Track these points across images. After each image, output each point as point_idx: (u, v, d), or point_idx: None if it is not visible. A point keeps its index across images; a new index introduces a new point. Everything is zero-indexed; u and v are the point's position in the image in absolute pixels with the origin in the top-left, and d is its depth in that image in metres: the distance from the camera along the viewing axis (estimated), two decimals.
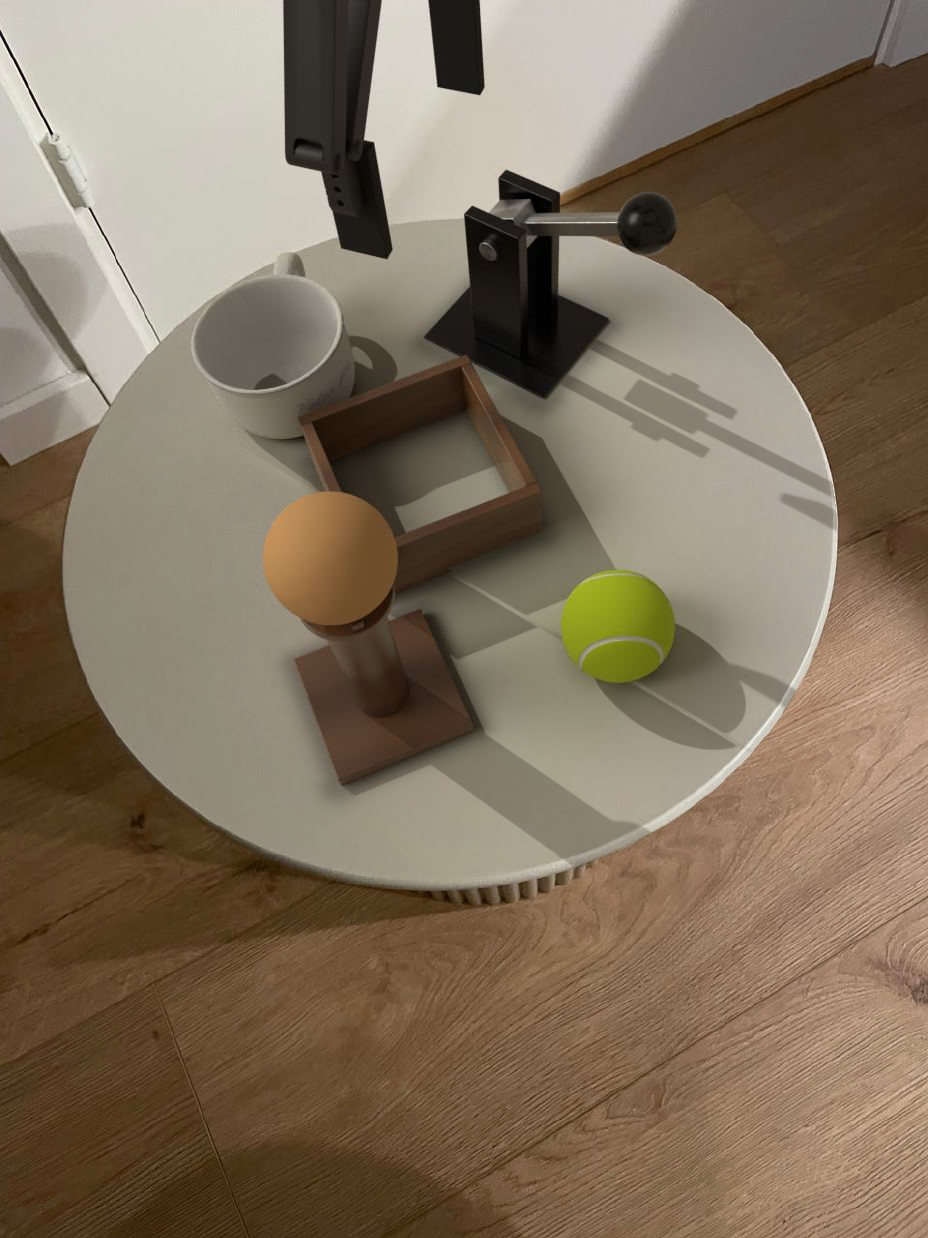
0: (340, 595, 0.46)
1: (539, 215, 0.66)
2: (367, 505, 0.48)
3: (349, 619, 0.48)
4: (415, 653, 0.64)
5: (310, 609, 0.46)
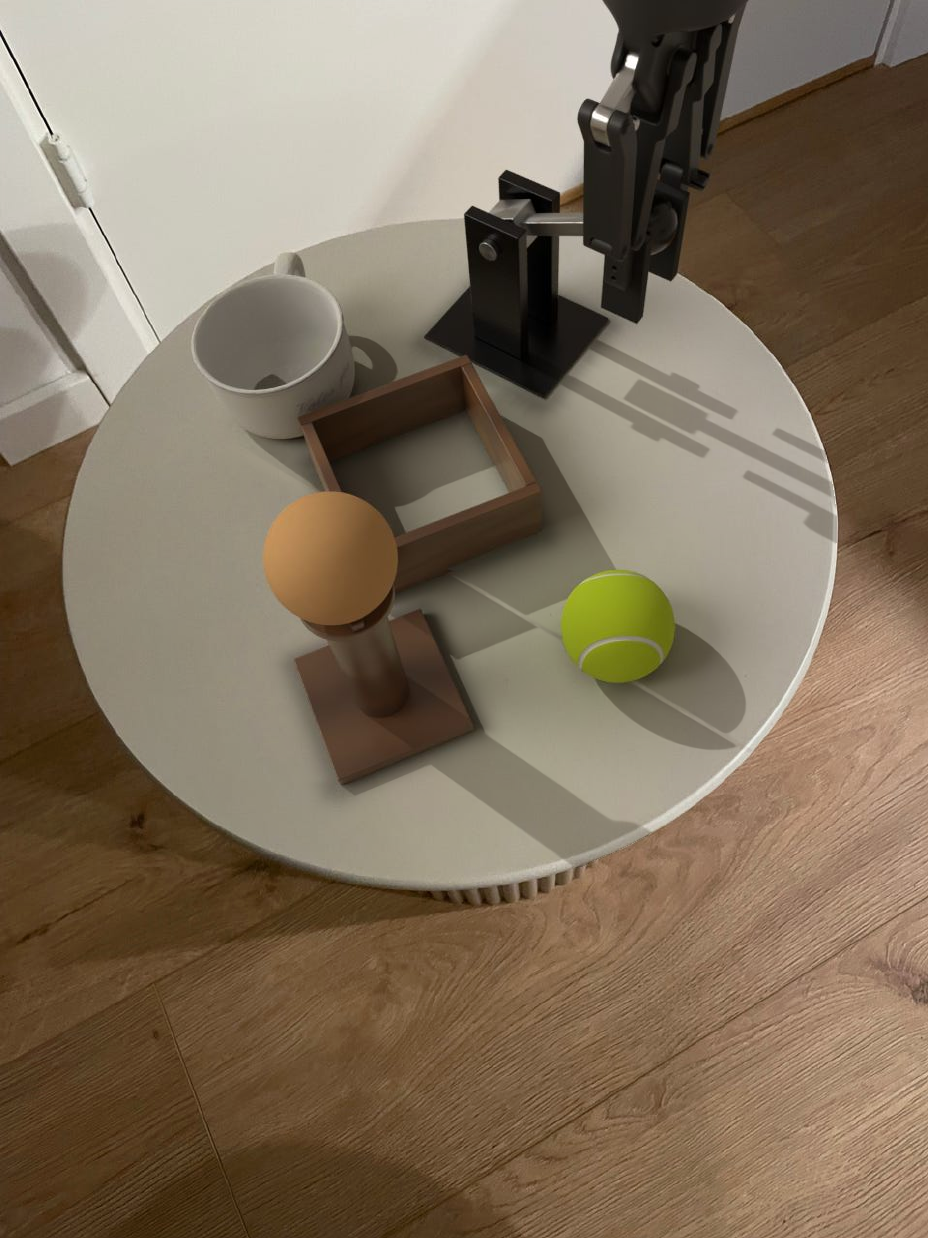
0: (340, 595, 0.46)
1: (539, 215, 0.66)
2: (367, 505, 0.48)
3: (349, 619, 0.48)
4: (415, 653, 0.64)
5: (310, 609, 0.46)
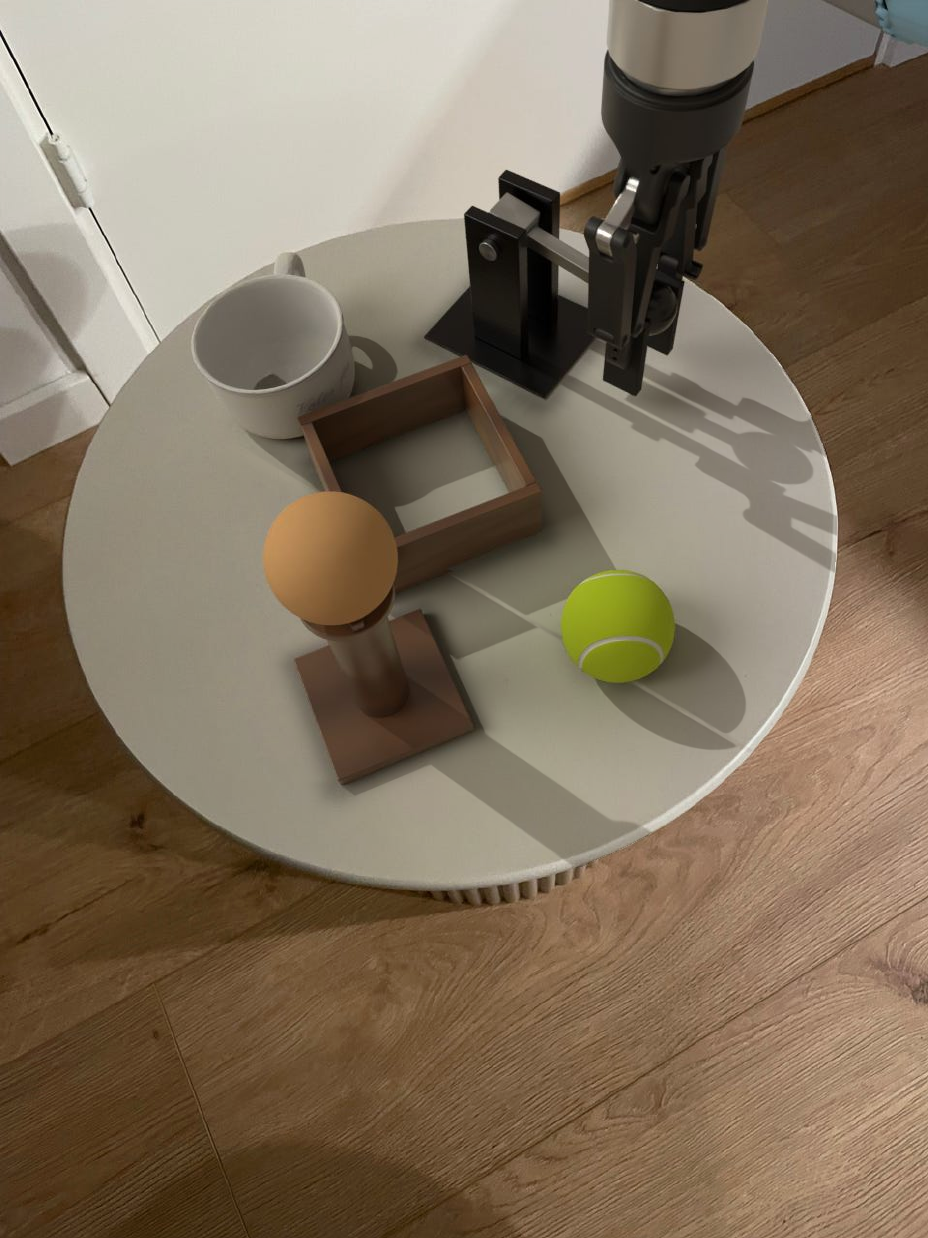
0: (340, 595, 0.46)
1: (545, 234, 0.67)
2: (367, 505, 0.48)
3: (349, 619, 0.48)
4: (415, 653, 0.64)
5: (310, 609, 0.46)
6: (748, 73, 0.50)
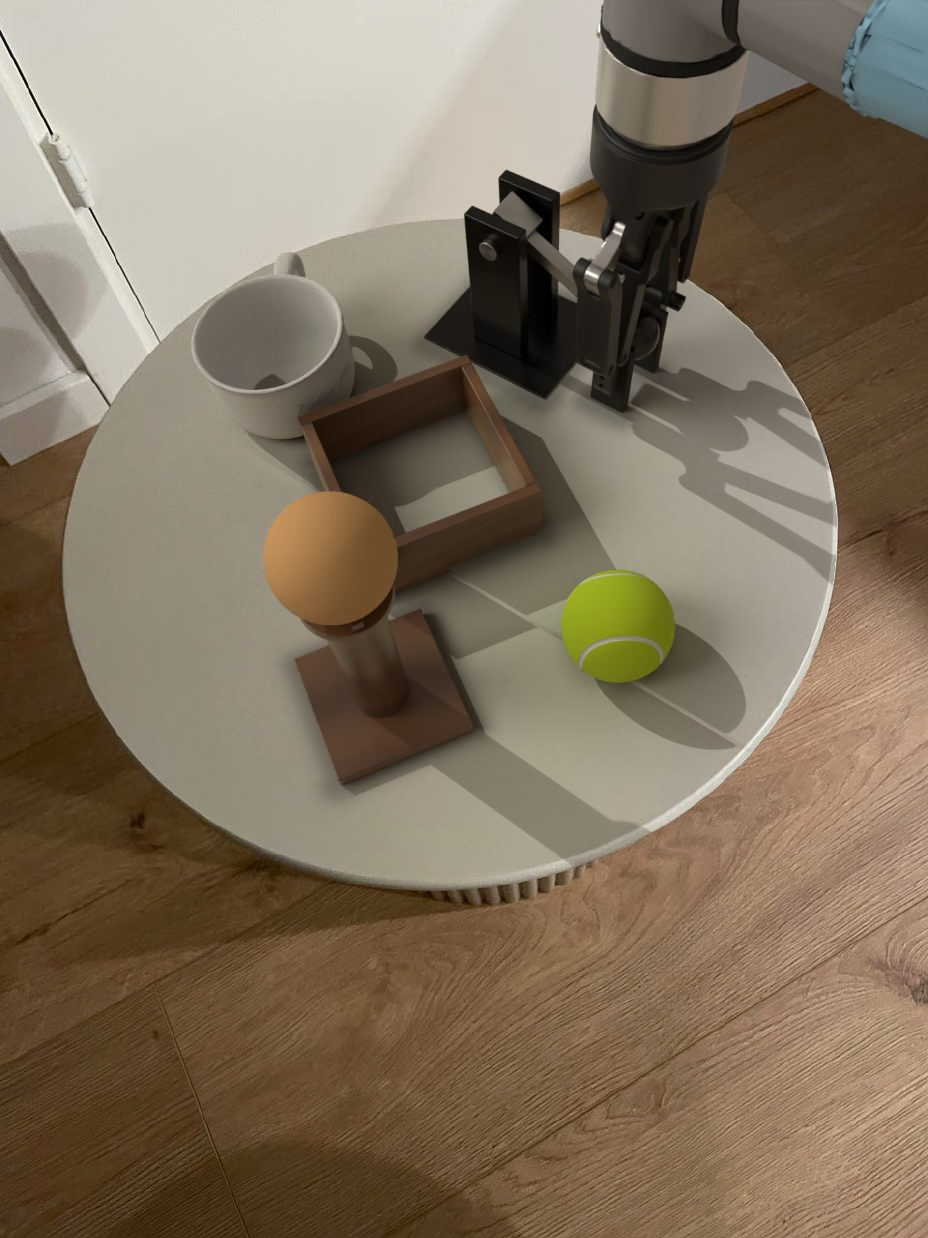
0: (340, 595, 0.46)
1: (544, 242, 0.67)
2: (367, 505, 0.48)
3: (349, 619, 0.48)
4: (415, 653, 0.64)
5: (310, 609, 0.46)
6: (728, 128, 0.53)
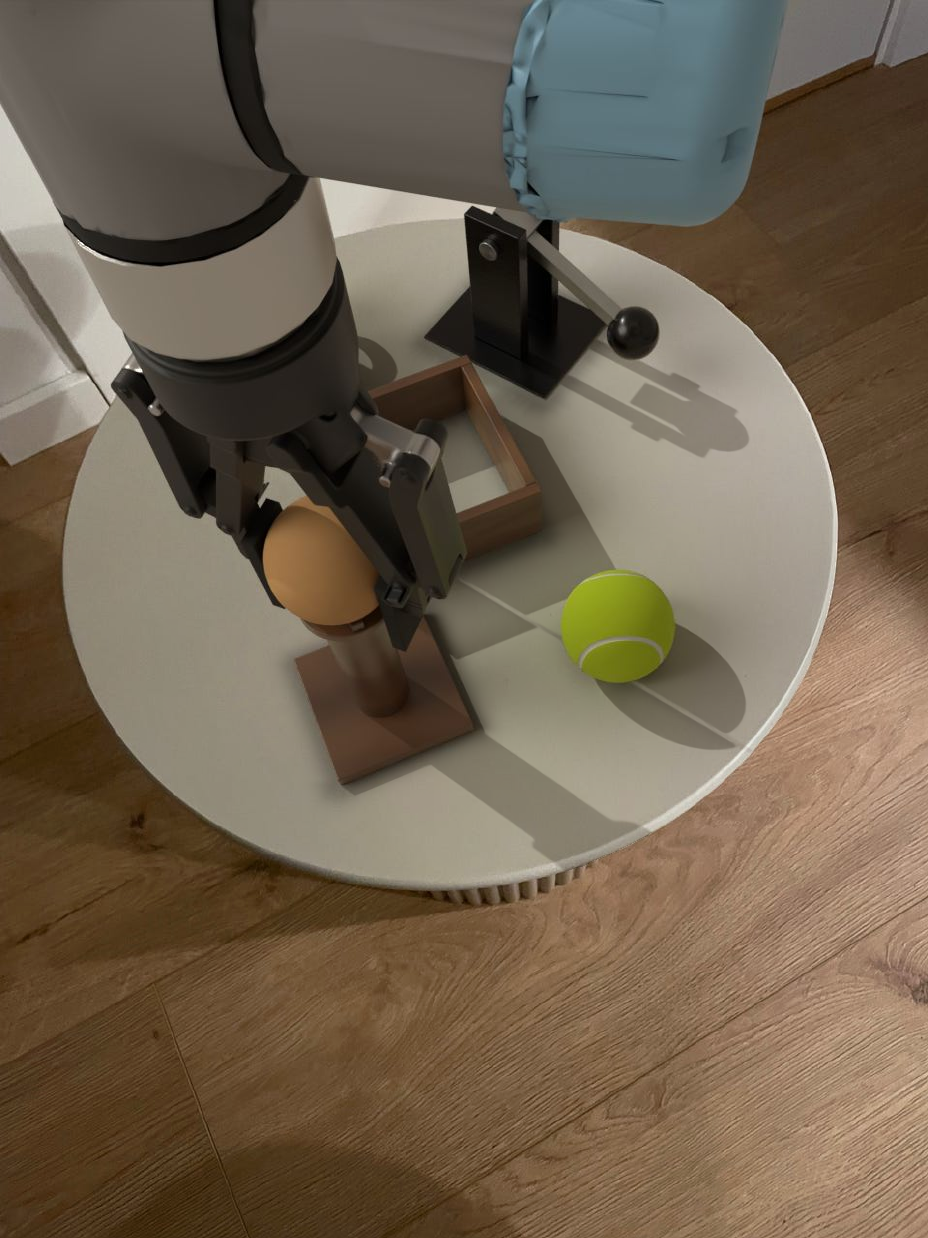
0: (340, 595, 0.46)
1: (544, 242, 0.67)
2: None
3: (349, 619, 0.48)
4: (415, 653, 0.64)
5: (310, 609, 0.46)
6: (203, 378, 0.31)
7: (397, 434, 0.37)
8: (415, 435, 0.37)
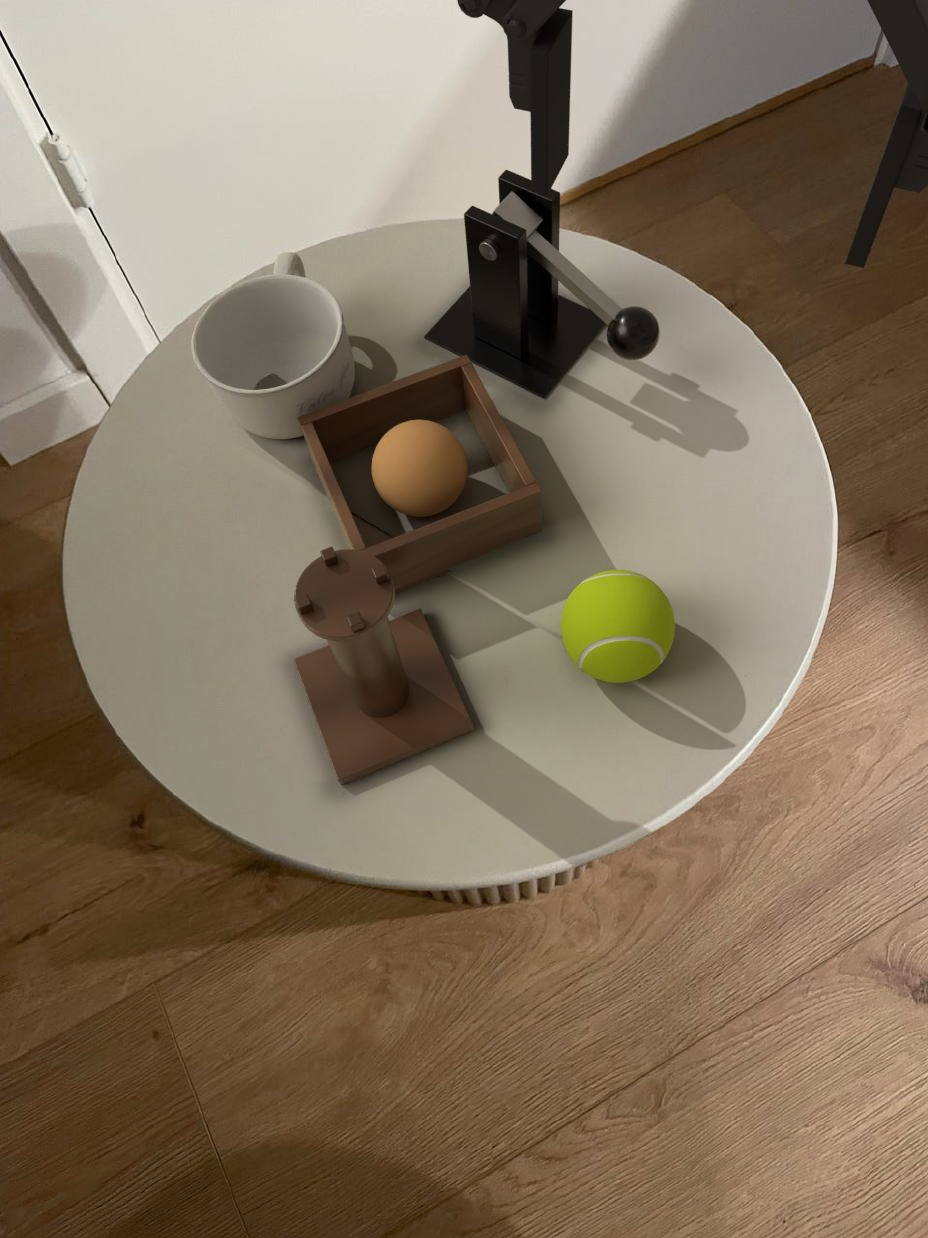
0: (430, 491, 0.65)
1: (544, 242, 0.67)
2: (447, 429, 0.67)
3: (433, 511, 0.67)
4: (415, 653, 0.64)
5: (408, 502, 0.66)
6: None
7: None
8: None
